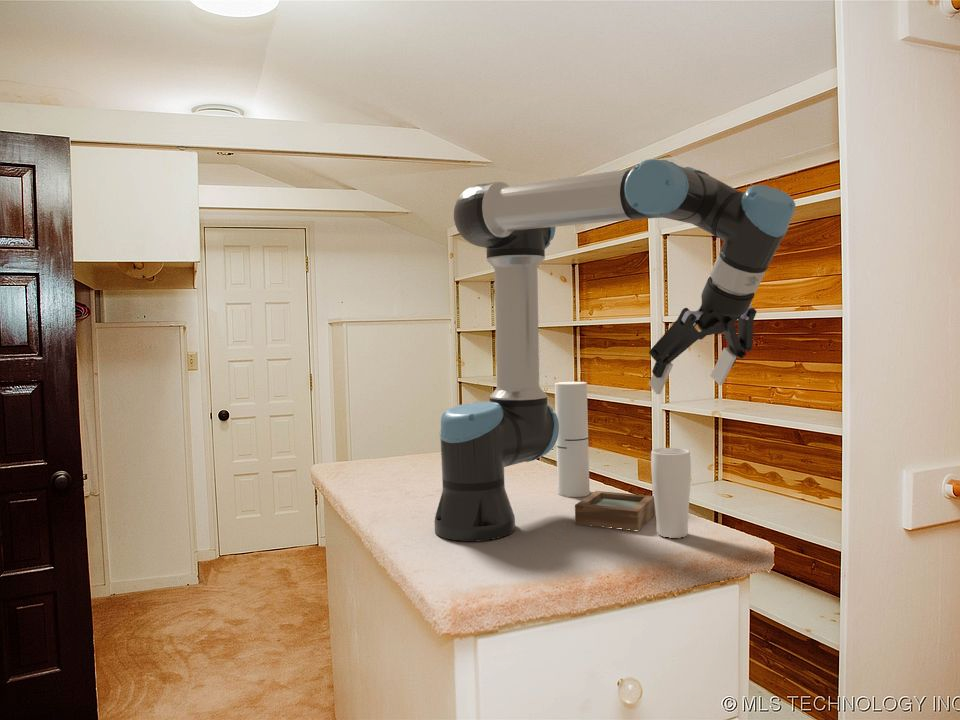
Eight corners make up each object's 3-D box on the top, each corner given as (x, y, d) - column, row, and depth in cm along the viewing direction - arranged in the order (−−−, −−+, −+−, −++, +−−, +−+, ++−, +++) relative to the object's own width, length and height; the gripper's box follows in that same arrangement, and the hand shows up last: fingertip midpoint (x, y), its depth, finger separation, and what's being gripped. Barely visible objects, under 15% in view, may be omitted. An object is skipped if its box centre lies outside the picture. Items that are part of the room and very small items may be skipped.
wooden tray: (637, 531, 120) (637, 511, 120) (575, 524, 126) (574, 504, 125) (654, 514, 130) (654, 496, 130) (596, 508, 136) (595, 490, 136)
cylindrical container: (586, 497, 145) (583, 384, 144) (554, 496, 147) (551, 384, 146) (591, 490, 152) (589, 381, 151) (561, 488, 154) (558, 381, 153)
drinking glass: (665, 542, 113) (664, 455, 113) (645, 531, 120) (643, 449, 119) (700, 538, 115) (698, 452, 114) (678, 527, 122) (676, 446, 121)
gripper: (681, 303, 98) (638, 407, 111) (807, 291, 107) (753, 389, 120) (654, 275, 103) (616, 379, 116) (776, 267, 112) (728, 364, 125)
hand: (686, 384), depth 118 cm, fingers open, 13 cm apart
